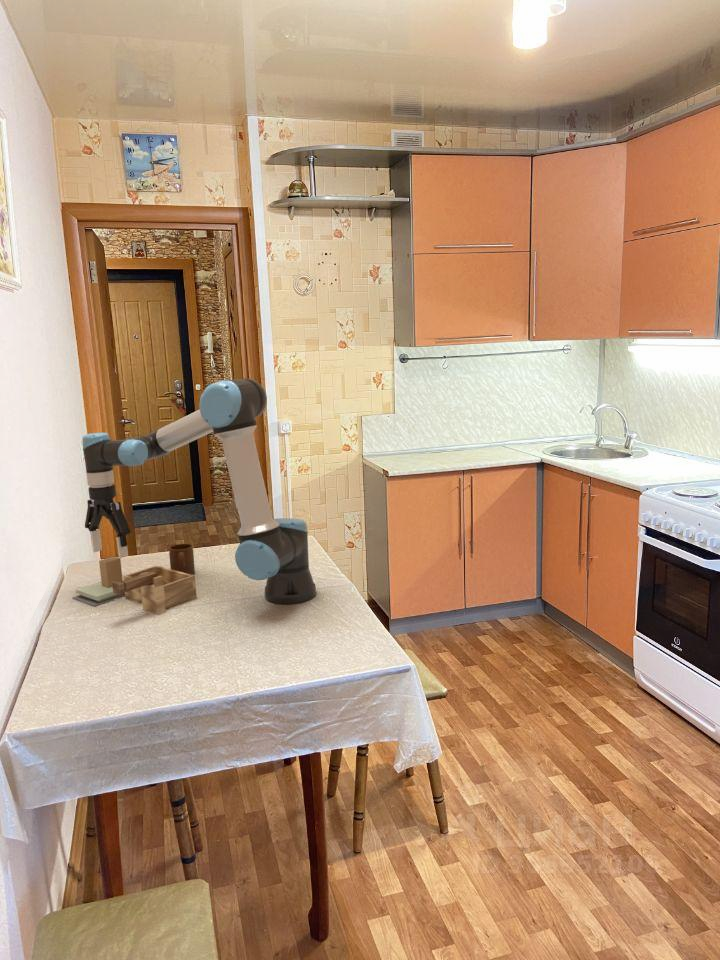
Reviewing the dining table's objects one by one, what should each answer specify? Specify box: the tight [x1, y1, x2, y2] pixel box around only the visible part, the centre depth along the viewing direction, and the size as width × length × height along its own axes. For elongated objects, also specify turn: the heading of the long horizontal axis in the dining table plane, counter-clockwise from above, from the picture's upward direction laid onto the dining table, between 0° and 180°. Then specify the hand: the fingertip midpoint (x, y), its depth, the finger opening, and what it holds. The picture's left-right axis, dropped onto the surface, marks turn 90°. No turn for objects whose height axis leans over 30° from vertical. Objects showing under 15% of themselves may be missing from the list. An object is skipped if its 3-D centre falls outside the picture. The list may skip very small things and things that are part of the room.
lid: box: [75, 556, 129, 602], centre depth 217 cm, size 18×11×10 cm, turn 142°
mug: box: [168, 543, 195, 575], centre depth 231 cm, size 12×8×9 cm, turn 15°
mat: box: [71, 594, 125, 608], centre depth 218 cm, size 12×20×1 cm, turn 142°
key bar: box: [112, 572, 157, 595], centre depth 197 cm, size 3×12×3 cm, turn 142°
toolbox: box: [123, 565, 198, 615], centre depth 210 cm, size 19×14×10 cm
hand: (110, 554), depth 216 cm, fingers open, 13 cm apart
